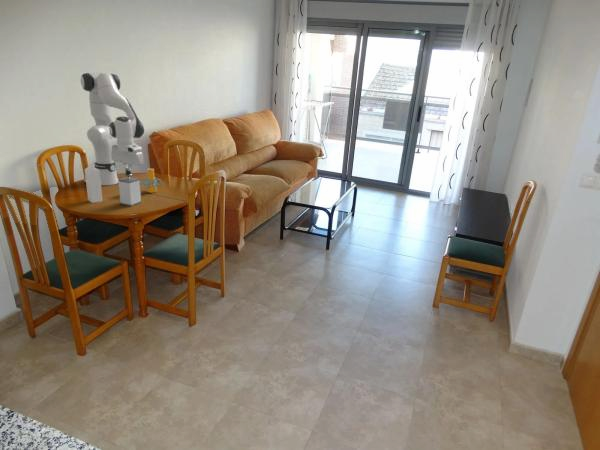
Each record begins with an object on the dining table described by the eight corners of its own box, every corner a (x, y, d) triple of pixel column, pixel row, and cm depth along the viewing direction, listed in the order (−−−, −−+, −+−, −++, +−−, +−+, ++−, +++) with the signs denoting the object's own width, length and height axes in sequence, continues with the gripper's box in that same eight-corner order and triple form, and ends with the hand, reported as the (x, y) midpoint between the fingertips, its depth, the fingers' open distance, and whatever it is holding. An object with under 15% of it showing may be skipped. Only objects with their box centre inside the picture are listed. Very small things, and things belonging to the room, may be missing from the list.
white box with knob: (120, 204, 243) (118, 179, 238) (135, 198, 254) (133, 175, 248) (131, 206, 241) (129, 181, 235) (145, 201, 251) (143, 177, 246)
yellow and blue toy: (154, 195, 262) (153, 172, 257) (139, 193, 264) (137, 170, 259) (164, 190, 274) (163, 168, 268) (149, 188, 275) (148, 166, 270)
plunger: (123, 202, 244) (120, 170, 236) (130, 199, 248) (127, 168, 241) (131, 203, 242) (128, 171, 235) (137, 201, 247) (135, 169, 240)
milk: (98, 198, 249) (94, 162, 241) (102, 201, 246) (98, 164, 238) (87, 200, 245) (83, 164, 237) (92, 203, 241) (87, 166, 233)
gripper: (107, 145, 233) (110, 169, 239) (136, 150, 227) (138, 174, 232) (115, 143, 239) (118, 166, 244) (144, 148, 232) (146, 171, 238)
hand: (128, 170), depth 238 cm, fingers closed, pressing on plunger
